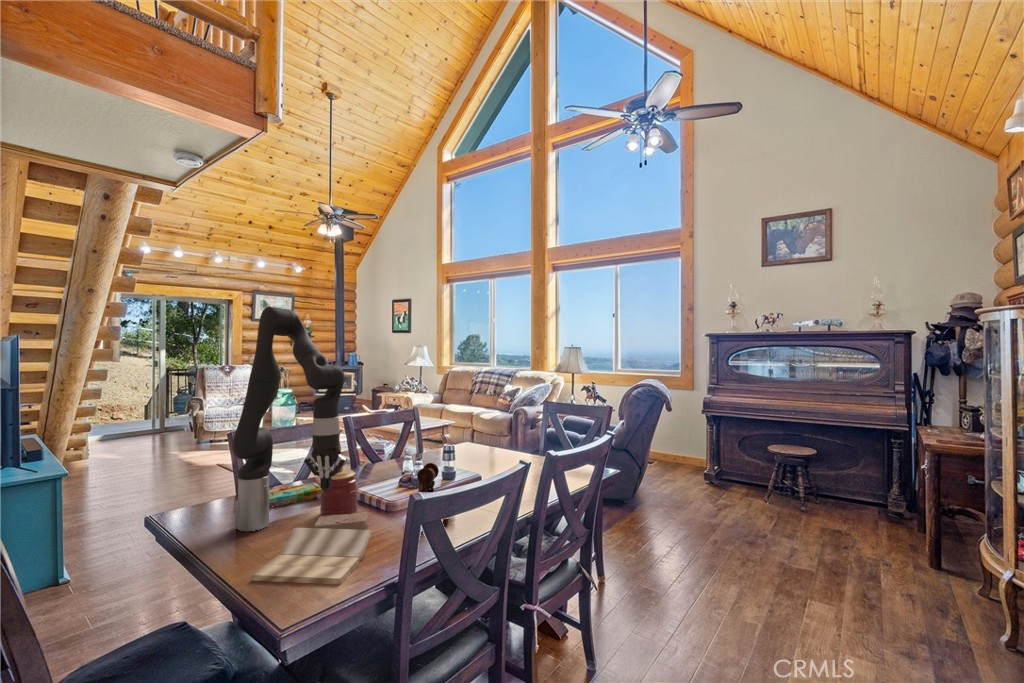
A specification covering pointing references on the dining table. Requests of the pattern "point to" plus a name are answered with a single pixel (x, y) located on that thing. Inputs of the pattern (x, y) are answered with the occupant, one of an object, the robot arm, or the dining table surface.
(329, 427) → the robot arm
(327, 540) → the ash plank
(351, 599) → the dining table surface
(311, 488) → the puzzle game
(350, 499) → the canister
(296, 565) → the oak floor boards
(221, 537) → the dining table surface
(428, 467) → the dark brown upright piece
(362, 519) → the brick
